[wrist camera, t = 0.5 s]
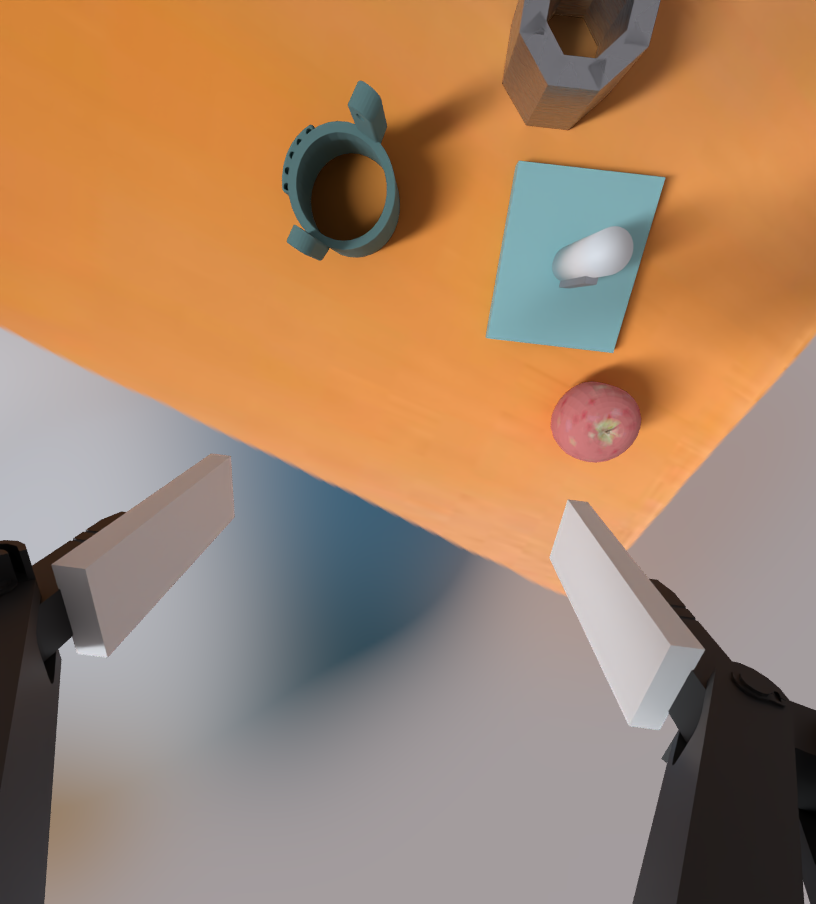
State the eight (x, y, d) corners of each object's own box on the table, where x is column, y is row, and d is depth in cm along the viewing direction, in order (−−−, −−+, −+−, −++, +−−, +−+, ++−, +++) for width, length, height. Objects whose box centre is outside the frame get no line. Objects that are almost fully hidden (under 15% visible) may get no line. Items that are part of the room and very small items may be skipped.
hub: (518, -20, 28) (540, -102, 22) (631, -7, 28) (682, -87, 22) (496, 122, 31) (511, 80, 25) (598, 133, 31) (636, 94, 25)
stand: (515, 166, 32) (548, 113, 23) (657, 182, 32) (741, 135, 23) (485, 337, 37) (502, 346, 28) (607, 351, 37) (661, 364, 28)
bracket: (392, 135, 32) (378, 71, 23) (406, 256, 35) (398, 239, 26) (290, 153, 32) (240, 99, 24) (312, 270, 36) (275, 258, 27)
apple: (527, 426, 40) (550, 454, 33) (566, 363, 37) (601, 377, 30) (587, 455, 41) (622, 488, 33) (629, 395, 38) (678, 416, 31)
